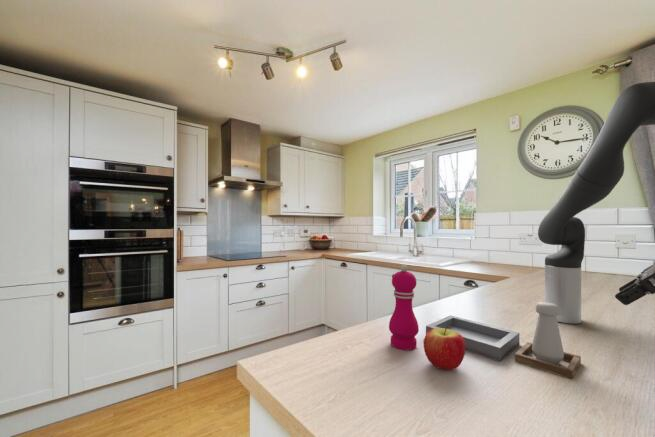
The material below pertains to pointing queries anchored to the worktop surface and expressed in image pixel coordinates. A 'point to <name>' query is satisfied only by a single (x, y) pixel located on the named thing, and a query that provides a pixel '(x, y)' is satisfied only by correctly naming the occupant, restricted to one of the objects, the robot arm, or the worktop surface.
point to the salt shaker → (547, 334)
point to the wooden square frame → (567, 372)
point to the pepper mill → (403, 311)
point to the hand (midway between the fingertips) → (621, 296)
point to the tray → (481, 336)
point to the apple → (444, 348)
